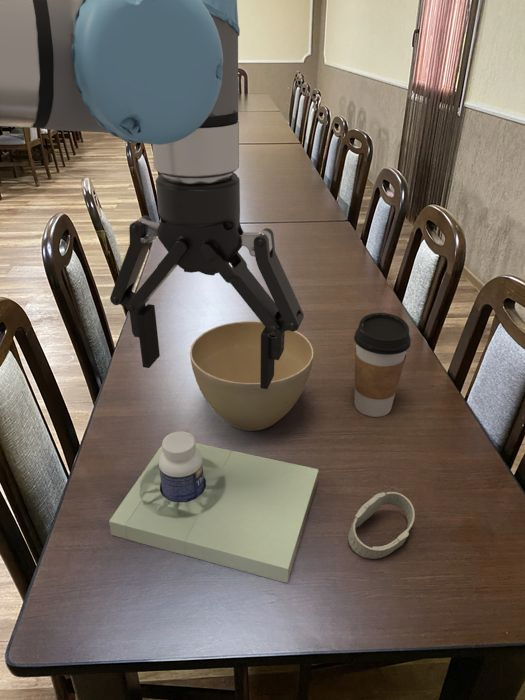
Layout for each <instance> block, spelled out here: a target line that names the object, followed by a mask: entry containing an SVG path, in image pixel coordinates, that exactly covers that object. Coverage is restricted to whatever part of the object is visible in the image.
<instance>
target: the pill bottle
mask: <svg viewBox="0 0 525 700" xmlns="http://www.w3.org/2000/svg"><path fill="white" fill-rule="evenodd" d="M196 443H197V442H196V437H195V436H194V435H193V434H191V433H190V432H188V431H184V430H183V431H181V430H180V431H173V432H171V433H168V434H167V435H166V436H165V437H164V438H163V439H162V443H161V446H162V448H163V449H162V450H163V451H162V453H161V454H160V457H159V469H160V477H161V486H162V494H163V497H165V498H166V499H168V500H169V501H173V502H177V503H180V502H189V501H191V500H194V499H196V498H197V497H199V496H200V495H201V494H202V493H203V491H204V476H203V460H202V455H201V452H200V451H199V449H198V448H196Z"/></svg>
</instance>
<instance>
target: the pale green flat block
mask: <svg viewBox="0 0 525 700" xmlns="http://www.w3.org/2000/svg"><path fill="white" fill-rule="evenodd" d="M195 443H196V448H198V449H199V451H200V452H201V455H202V460H203V476H204V491H203V493H202V494H201V495H200V496H199V497H197V498H196V499H194V500H191V501H189V502H180V503H177V502H173V501H169V500H168V499H166V498H165V497H163V494H162V486H161V477H160V469H159V457H160V454H161V453H162V451H163V450H162V449H163V448H162V445H160V447H159V448H158V450H157V451H156V452H155V454H154V456H153V457H152V458H151V460H150V461H149V463H148V464H147V465H146V467H145V469H144V470H143V471H142V473H141V474H140V475H139V477H138V479H137V480H136V481H135V483H134V484H133V485H132V487H131V488H130V490H129V491H128V493H127V494H126V496H125V497H124V498H123V500H122V501H121V503H120V504H119V505H118V508H117V509H116V510H115V511H114V513H113V514H112V516H111V517H110V519H109V521H108V523H109V529H110V534H111V536H114V537H118V538H120V539H125V540H128V541H131V542H135V543H138V544H143V545H145V546H150V547H154V548H157V549H160V550H164V551H168V552H171V553H174V554H179V555H183V556H187V557H190V558H193V559H197V560H200V561H205V562H208V563H212V564H216V565H219V566H224V567H226V568H230V569H234V570H238V571H241V572H244V573H247V574H248V573H249V574H252V575H255V576H260V577H263V578H266V579H270V580H275V581H277V582H282V583H285V584H288V583H289V580H290V576H291V574H292V570H293V567H294V563H295V561H296V560H295V559H296V557H297V553H298V549H299V546H300V543H301V540H302V537H303V532H304V531H305V530H304V529H305V526H306V523H307V519H308V516H309V513H310V509H311V506H312V503H313V499H314V496H315V493H316V489H317V486H318V481H319V468H316V467H311V466H304V465H301V464H296V463H292V462H286V461H283V460H277V459H272V458H268V457H263V456H259V455H255V454H250V453H249V454H248V453H246V452H240V451H235V450H231V449H226V448H222V447H217V446H212V445H208V444H203V443H199V442H195Z"/></svg>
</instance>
